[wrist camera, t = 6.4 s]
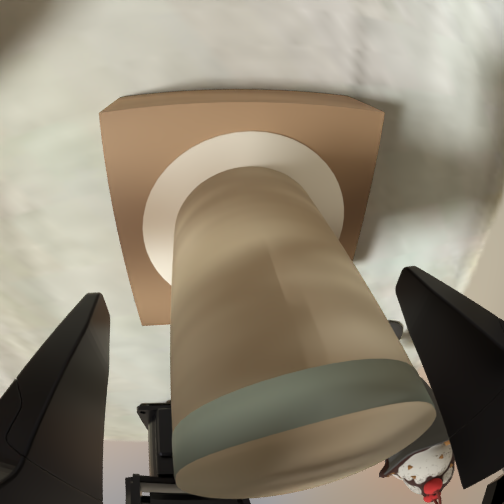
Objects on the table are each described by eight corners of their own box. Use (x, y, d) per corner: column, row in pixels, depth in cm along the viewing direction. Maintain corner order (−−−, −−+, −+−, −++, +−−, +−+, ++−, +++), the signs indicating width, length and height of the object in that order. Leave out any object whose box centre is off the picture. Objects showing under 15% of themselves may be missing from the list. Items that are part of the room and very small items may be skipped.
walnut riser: (319, 267, 17) (339, 308, 15) (147, 280, 16) (142, 327, 13) (347, 96, 12) (386, 113, 9) (120, 97, 10) (97, 113, 8)
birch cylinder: (325, 165, 10) (485, 371, 4) (305, 282, 13) (379, 468, 7) (167, 169, 9) (141, 445, 3) (180, 292, 12) (193, 504, 6)
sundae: (343, 321, 20) (431, 533, 9) (422, 306, 21) (516, 476, 9) (325, 374, 24) (383, 542, 12) (395, 357, 25) (460, 503, 13)
